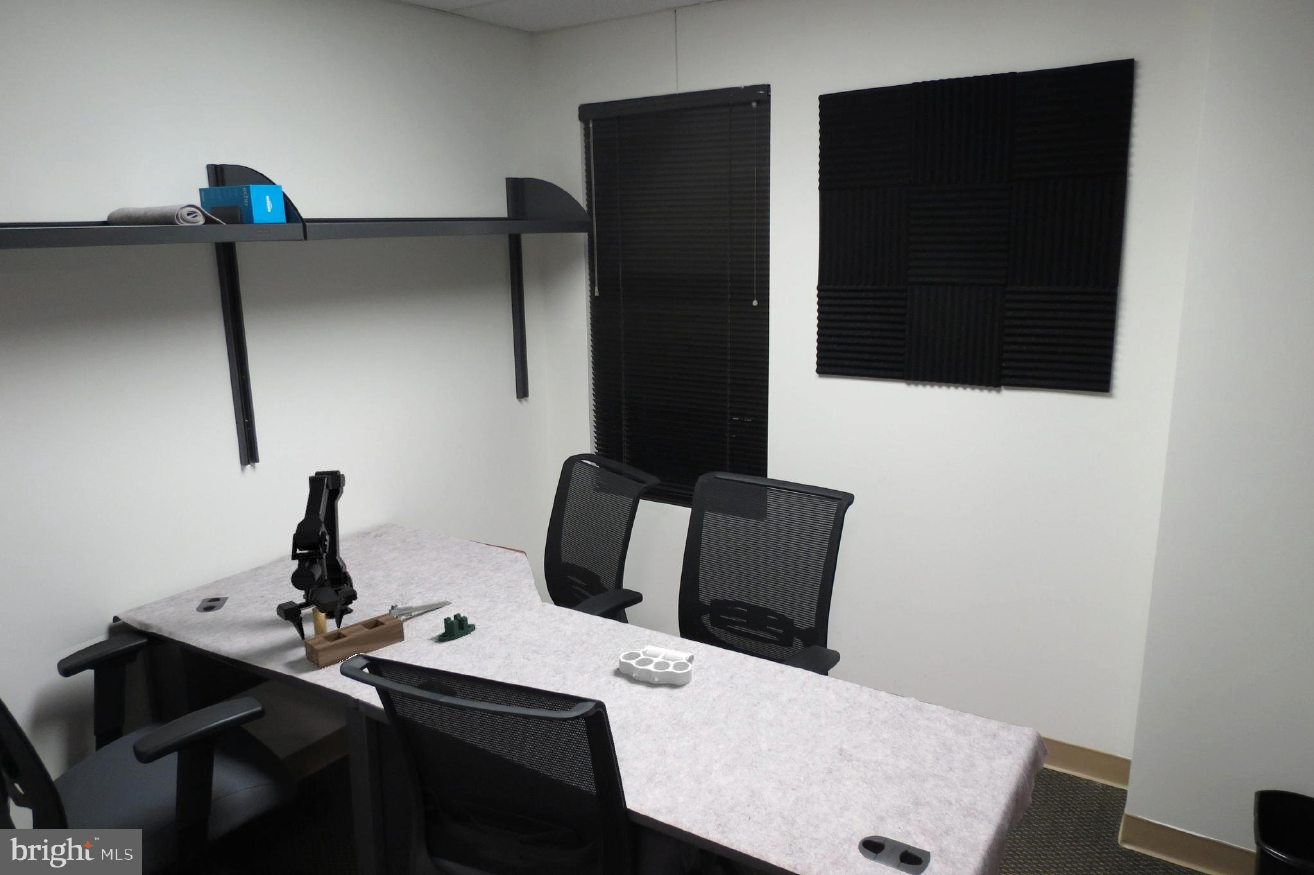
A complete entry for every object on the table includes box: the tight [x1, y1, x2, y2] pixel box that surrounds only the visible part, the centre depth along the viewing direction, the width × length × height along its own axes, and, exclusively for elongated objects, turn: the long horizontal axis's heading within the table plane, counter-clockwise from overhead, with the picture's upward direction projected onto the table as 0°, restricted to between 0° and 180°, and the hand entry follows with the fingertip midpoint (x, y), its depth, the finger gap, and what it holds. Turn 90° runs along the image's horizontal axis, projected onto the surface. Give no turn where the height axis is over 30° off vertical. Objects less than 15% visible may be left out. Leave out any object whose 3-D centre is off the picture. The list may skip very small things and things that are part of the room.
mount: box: [437, 613, 476, 643], centre depth 230 cm, size 11×4×5 cm, turn 137°
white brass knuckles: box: [618, 645, 695, 686], centre depth 208 cm, size 3×18×15 cm
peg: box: [311, 606, 328, 637], centre depth 228 cm, size 3×3×9 cm
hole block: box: [303, 612, 405, 670], centre depth 223 cm, size 8×22×5 cm, turn 134°
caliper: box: [388, 599, 452, 621], centre depth 243 cm, size 20×1×6 cm, turn 143°
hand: (321, 633), depth 228 cm, fingers open, 9 cm apart
